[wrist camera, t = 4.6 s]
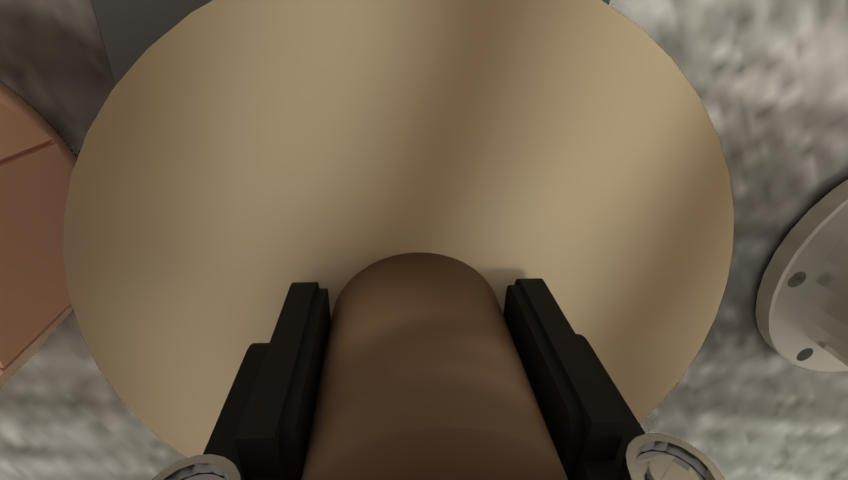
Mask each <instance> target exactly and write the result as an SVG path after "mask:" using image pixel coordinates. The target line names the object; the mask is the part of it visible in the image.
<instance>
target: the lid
mask: <svg viewBox="0 0 848 480" xmlns="http://www.w3.org/2000/svg"><path fill="white" fill-rule="evenodd" d="M733 235H734V206H733V198H732V190H731V182H730V174H729V171H728V167H727V164H726V161H725V157H724V154H723V150H722V147H721V144H720V140H719V137H718V134H717V132H716V130H715V128H714V126H713V124H712V122H711V120H710V118H709V116H708V114H707V112H706V110H705V108H704V106H703V104H702V102H701V100H700V97H699V96H698V94H697V93H696V91H695V90H694V89H693V87H692V86H691V85H690V83H689V82H688V80H687V79H686V78H685V76H684V75H683V74H682V72H681V71H680V69H679V68H678V67H677V65H676V64H675V63H674V61H673V60H672V58H671V57H670V56H669V55H667V54H666V53H665V52H664V51H663V50H662V49H661V48H660V47H659V46H658V45H657V44H656V43H655V42H654V41H653V40H652V39H651V38H650V37H649V36H648V35H647V34H646V33H645V32H644V31H643V30H642V29H641V28H640V27H639V26H638V25H637V24H635V23H634V22H633V21H631V20H630V19H628V18H627V17H625V16H624V15H622V14H621V13H619V12H618V11H617V10H615V9H614V8H612V7H611V6H609V5H608V4H606V3H605V2H603V1H602V0H212V1H211V2H209V3H207V4H205V5H204V6H202V7H200V8H199V9H197V10H195V11H193V12H192V13H190V14H189V15H188V16H187V17H185V18H184V19H183V20H182V21H181V22H179V23H178V24H177V25H176V26H174V27H173V28H172V29H171V30H170V31H168V32H167V33H166V34H165V35H163V36H162V37H161V38H160V39H159V40H157V41H156V42H155V43H154V44H152V45H151V46H150V47H149V48H148V49H147V50H146V51H145V52H144V53H143V55H142V56H141V57H140V58H139V59H138V60H137V61H136V63H135V64H134V65H133V66H132V67H131V68H130V70H129V71H128V72H127V73H126V74H125V75H124V77H123V78H122V79H121V80H120V81H119V82H118V83H117V85H116V86H115V87H114V88H113V90H112V91H111V93H110V95H109V96H108V98H107V100H106V101H105V103H104V105H103V106H102V108H101V110H100V111H99V113H98V115H97V117H96V118H95V120H94V122H93V123H92V125H91V127H90V128H89V130H88V132H87V134H86V137H85V140H84V142H83V145H82V148H81V151H80V153H79V156H78V159H77V161H76V164H75V167H74V169H73V172H72V175H71V179H70V185H69V190H68V196H67V202H66V207H65V213H64V218H63V262H64V268H65V274H66V279H67V285H68V291H69V297H70V301H71V304H72V307H73V310H74V313H75V316H76V319H77V322H78V325H79V328H80V331H81V334H82V337H83V338H84V340H85V342H86V344H87V346H88V348H89V350H90V352H91V354H92V356H93V358H94V360H95V362H96V364H97V365H98V367H99V369H100V371H101V372H102V373H103V375H104V376H105V378H106V379H107V381H108V382H109V383H110V385H111V386H112V388H113V389H114V390H115V392H116V393H117V395H118V396H119V397H120V399H121V400H122V401H123V402H124V403H125V404H126V405H127V406H128V407H129V408H130V410H131V411H132V412H133V413H134V414H135V415H136V416H137V417H138V418H139V419H140V420H141V421H142V422H143V424H144V425H146V426H147V427H148V428H149V429H150V430H151V431H153V432H154V433H155V434H156V435H157V436H159V437H160V438H161V439H162V440H163V441H164V442H166V443H167V444H168V445H169V446H170V447H172V448H173V449H175V450H176V451H178V452H179V453H181V454H182V455H184V456H185V457H187V458H189V457H192V456H196V455H203V453H204V450H205V448H206V446H207V443H208V441H209V439H210V436H211V434H212V431H213V429H214V427H215V424H216V422H217V420H218V417H219V415H220V413H221V410H222V408H223V405H224V403H225V401H226V398H227V396H228V394H229V391H230V389H231V387H232V384H233V382H234V380H235V377H236V375H237V372H238V370H239V368H240V365H241V363H242V361H243V358H244V356H245V354H246V351H247V349H248V348H249V346H250V345H251V344H252V343H270V340H271V337H272V334H273V332H274V329H275V326H276V323H277V321H278V318H279V315H280V312H281V310H282V307H283V304H284V301H285V299H286V296H287V293H288V290H289V288H290V285H291V283H293V282H318V284H319V288H327V289H328V294H329V306H330V317H331V322H330V327H329V333H328V338H327V343H326V349H325V354H324V359H323V365H322V370H321V375H320V381H319V386H318V391H317V396H316V402H315V407H314V412H313V418H312V423H311V428H310V434H309V439H308V444H307V450H306V455H305V460H304V466H303V471H302V476H301V480H568V479H567V476H566V473H565V471H564V468H563V466H562V463H561V461H560V458H559V456H558V453H557V450H556V448H555V445H554V443H553V440H552V438H551V435H550V433H549V430H548V427H547V425H546V422H545V420H544V417H543V415H542V412H541V410H540V407H539V404H538V402H537V399H536V397H535V394H534V392H533V389H532V387H531V384H530V381H529V379H528V376H527V374H526V371H525V369H524V366H523V364H522V361H521V358H520V356H519V353H518V351H517V348H516V346H515V343H514V341H513V338H512V335H511V333H510V330H509V328H508V325H507V323H506V320H505V318H504V315H503V312H504V304H505V297H506V290H507V287H508V285H514V284H515V281H516V279H522V278H541V279H543V280H544V282H545V283H546V285H547V287H548V288H549V290H550V292H551V293H552V295H553V297H554V298H555V300H556V302H557V303H558V305H559V307H560V309H561V310H562V312H563V314H564V315H565V317H566V319H567V320H568V322H569V324H570V325H571V327H572V329H573V330H574V332H575V334H581V335H583V336H584V337H585V338H586V339H587V341H588V342H589V344H590V345H591V347H592V348H593V350H594V352H595V353H596V355H597V356H598V358H599V360H600V361H601V363H602V365H603V366H604V368H605V369H606V371H607V373H608V374H609V376H610V377H611V379H612V381H613V382H614V384H615V385H616V387H617V389H618V390H619V392H620V394H621V395H622V397H623V398H624V400H625V402H626V403H627V405H628V406H629V408H630V410H631V411H632V413H633V414H634V416H635V418H636V419H637V421H638V423H639V424H640V423H641V422H642V421H643V420H644V419H645V418H646V417H647V416H648V415H649V414H650V413H651V412H652V411H653V410H654V409H655V408H656V407H657V406H658V405H659V404H660V403H661V402H662V401H663V400H664V398H665V397H666V396H667V395H668V393H669V392H670V391H671V390H672V388H673V387H674V386H675V385H676V384H677V382H678V381H679V380H680V379H681V377H682V376H683V375H684V373H685V372H686V370H687V369H688V367H689V365H690V364H691V362H692V361H693V359H694V358H695V356H696V355H697V353H698V351H699V350H700V348H701V346H702V344H703V342H704V340H705V338H706V336H707V334H708V332H709V330H710V328H711V326H712V324H713V322H714V320H715V318H716V315H717V312H718V309H719V306H720V303H721V300H722V297H723V294H724V291H725V288H726V285H727V279H728V274H729V268H730V263H731V258H732V252H733Z"/></svg>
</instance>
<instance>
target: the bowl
mask: <svg viewBox="0 0 848 480" xmlns="http://www.w3.org/2000/svg"><path fill="white" fill-rule="evenodd" d="M76 161H77V159H76V157H75V156H74V154H73V153H72V152H71V150H70V149H69V148H68V146H67V145H66V144H65V142H64V141H63V139H62V138H61V137H60V136H59V135H58V134H57V133H56V132H55V130H54V129H53V128H52V127H51V126H50V125H49V124H48V123H47V122H46V120H45V119H44V118H43V117H42V116H41V115H40V114H38V113H37V112H36V111H35V110H34V109H33V108H32V107H31V106H30V105H29V104H28V103H27V102H25V101H24V100H23V99H22V98H21V97H20V96H19V95H17V94H16V93H15V92H13V91H12V90H11V89H9V88H8V87H7V86H6V85H4V84H3V83H2V82H0V388H1V387H2V386H3V385H4V384H5V383H6V382H7V381H8V380H9V379H10V378H11V377H12V376H13V375H14V374H15V373H16V372H17V371H18V370H19V369H20V368H21V367H22V366H23V365H24V364H25V363H26V362H27V361H28V359H29V358H30V357H31V356H32V355H33V354H34V353H35V352H36V351H37V350H38V349H39V348H40V347H41V346H42V345H43V344H44V342H45V341H46V340H47V339H48V338H49V337H50V335H51V334H52V333H53V332H54V331H55V330H56V328H57V327H58V326H59V325H60V324H61V323H62V321H63V320H64V319H65V318H66V317H67V316H68V314H69V313H70V312H71V311H72V310H73V307H72V304H71V301H70V297H69V291H68V285H67V279H66V274H65V268H64V262H63V218H64V213H65V207H66V202H67V196H68V190H69V185H70V179H71V175H72V172H73V169H74V167H75V164H76Z"/></svg>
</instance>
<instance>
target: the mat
mask: <svg viewBox="0 0 848 480" xmlns="http://www.w3.org/2000/svg"><path fill="white" fill-rule="evenodd" d="M91 1H92V5H93V8H94V12H95V15H96V19H97V22H98V26H99V29H100V33H101V36H102V40H103V43H104V47H105V50H106V54H107V57H108V61H109V64H110V68H111V71H112V75H113V78H114V82H115V85H117V83H118V82H119V81H120V80H121V79H122V78H123V77H124V75H125V74H126V73H127V72H128V71H129V70H130V68H131V67H132V66H133V65H134V64H135V63H136V61H137V60H138V59H139V58H140V57H141V56H142V55H143V53H144V52H145V51H146V50H147V49H148V48H149V47H150V46H151V45H152V44H154V43H155V42H156V41H157V40H159V39H160V38H161V37H162V36H163V35H165V34H166V33H167V32H168V31H170V30H171V29H172V28H173V27H174V26H176V25H177V24H178V23H179V22H181V21H182V20H183V19H184V18H185V17H187V16H188V15H189V14H190V13H192V12H193V11H195V10H197V9H199V8H200V7H202V6H204V5H205V4H207V3H209V2H211V1H212V0H91ZM602 1H603V2H605V3H606V4H608V5H609V1H610V0H602Z"/></svg>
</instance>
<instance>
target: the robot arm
mask: <svg viewBox="0 0 848 480" xmlns="http://www.w3.org/2000/svg"><path fill="white" fill-rule="evenodd" d="M503 315H504V318H505V320H506V323H507V325H508V328H509V330H510V333H511V335H512V338H513V341H514V343H515V346H516V348H517V351H518V353H519V356H520V358H521V361H522V364H523V366H524V369H525V371H526V374H527V376H528V379H529V381H530V384H531V387H532V389H533V392H534V394H535V397H536V399H537V402H538V404H539V407H540V410H541V412H542V415H543V417H544V420H545V422H546V425H547V427H548V430H549V433H550V435H551V438H552V440H553V443H554V445H555V448H556V450H557V453H558V456H559V458H560V461H561V463H562V466H563V468H564V471H565V473H566V476H567V479H568V480H725V478H724V477H723V475H722V474H721V472H720V471H719V469H718V468H717V467H716V465H715V464H714V463H713V462H712V461H711V460H710V459H709V458H707V457H706V456H705V455H704V454H703V453H702V452H701V451H699V450H698V449H696V448H695V447H693V446H692V445H690V444H689V443H686V442H684V441H682V440H680V439H677V438H675V437H672V436H668V435H664V434H659V433H650V434H645V432H644V431H643V429H642V427H641V426H640V424H639V423H638V421H637V419H636V418H635V416H634V414H633V413H632V411H631V410H630V408H629V406H628V405H627V403H626V402H625V400H624V398H623V397H622V395H621V394H620V392H619V390H618V389H617V387H616V385H615V384H614V382H613V381H612V379H611V377H610V376H609V374H608V373H607V371H606V369H605V368H604V366H603V365H602V363H601V361H600V360H599V358H598V356H597V355H596V353H595V352H594V350H593V348H592V347H591V345H590V344H589V342H588V341H587V339H586V338H585V337H584V336H583V335H581V334H575V332H574V330H573V329H572V327H571V325H570V324H569V322H568V320H567V319H566V317H565V315H564V314H563V312H562V310H561V309H560V307H559V305H558V303H557V302H556V300H555V298H554V297H553V295H552V293H551V292H550V290H549V288H548V287H547V285H546V283H545V282H544V280H543V279H541V278H522V279H516V281H515V284H514V285H508V287H507V290H506V297H505V304H504V312H503ZM756 319H757V325H758V329H759V331H760V333H761V335H762V337H763V339H764V341H765V342H766V343H767V344H768V345H769V346H770V347H771V348H772V349H773V350H774V351H775V352H777V353H778V354H779V355H780V356H781V357H783V358H784V359H785V360H787V361H788V362H789V363H791V364H793V365H795V366H798V367H801V368H804V369H807V370H811V371H821V372H837V371H848V179H847V180H846V181H844V182H843V183H841V184H840V185H838V186H837V187H835V188H834V189H832V190H831V191H830V192H829V193H828V194H827V195H826V196H824V197H823V198H822V199H821V200H820V201H819V202H817V203H816V204H815V205H814V206H813V207H812V208H811V209H809V211H808V212H807V213H806V214H805V215H804V216H803V217H802V218H801V219H800V220H799V221H798V223H797V224H796V225H795V226H794V227H793V228H792V229H791V230H790V231H789V233H788V234H787V236H786V237H785V239H784V240H783V241H782V243H781V244H780V246H779V247H778V248H777V250H776V251H775V253H774V255H773V257H772V259H771V261H770V262H769V264H768V266H767V268H766V270H765V272H764V274H763V278H762V281H761V284H760V287H759V291H758V294H757V302H756ZM330 322H331V317H330V306H329V294H328V289H327V288H319V284H318V282H293V283H291V285H290V288H289V290H288V293H287V296H286V299H285V301H284V304H283V307H282V310H281V312H280V315H279V318H278V321H277V323H276V326H275V329H274V332H273V334H272V337H271V340H270V343H252V344H251V345H250V346H249V348H248V349H247V351H246V354H245V356H244V358H243V361H242V363H241V365H240V368H239V370H238V372H237V375H236V377H235V380H234V382H233V384H232V387H231V389H230V391H229V394H228V396H227V398H226V401H225V403H224V405H223V408H222V410H221V413H220V415H219V417H218V420H217V422H216V424H215V427H214V429H213V431H212V434H211V436H210V439H209V441H208V443H207V446H206V448H205V450H204V453H203V455H196V456H192V457H189V458H186V459H183V460H180V461H178V462H176V463H174V464H173V465H171V466H169V467H167V468H165V469H164V470H162V471H161V472H160V473H159V474H158V475H156V476H155V477H154V478H153V479H152V480H301V476H302V471H303V466H304V460H305V455H306V450H307V444H308V439H309V434H310V428H311V423H312V418H313V412H314V407H315V402H316V396H317V391H318V386H319V381H320V375H321V370H322V365H323V359H324V354H325V349H326V343H327V338H328V333H329V327H330Z"/></svg>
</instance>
